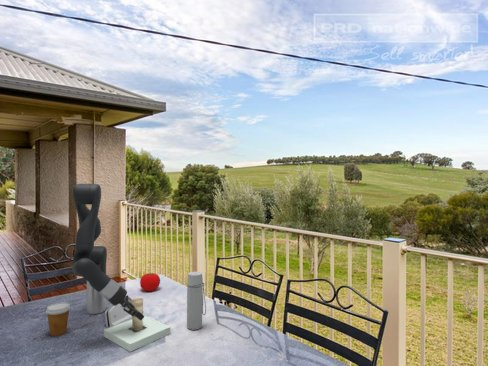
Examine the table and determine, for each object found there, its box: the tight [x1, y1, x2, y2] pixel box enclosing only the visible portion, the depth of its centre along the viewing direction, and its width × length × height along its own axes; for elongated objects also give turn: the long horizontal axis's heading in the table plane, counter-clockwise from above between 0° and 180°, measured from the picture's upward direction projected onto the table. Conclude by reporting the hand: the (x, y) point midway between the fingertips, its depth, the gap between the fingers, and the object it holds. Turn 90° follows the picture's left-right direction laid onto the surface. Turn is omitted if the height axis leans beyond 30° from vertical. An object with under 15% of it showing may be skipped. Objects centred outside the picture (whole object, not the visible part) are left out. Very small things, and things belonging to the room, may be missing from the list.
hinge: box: [104, 302, 132, 329], centre depth 158 cm, size 17×5×10 cm, turn 155°
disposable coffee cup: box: [45, 301, 71, 337], centre depth 146 cm, size 10×10×12 cm
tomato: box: [139, 272, 161, 292], centre depth 203 cm, size 12×12×10 cm
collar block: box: [103, 314, 171, 353], centre depth 144 cm, size 20×20×3 cm
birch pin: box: [132, 297, 144, 333], centre depth 144 cm, size 4×4×14 cm
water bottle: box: [186, 271, 207, 331], centre depth 152 cm, size 9×8×25 cm
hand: (142, 316), depth 144 cm, fingers closed on birch pin, 4 cm apart
